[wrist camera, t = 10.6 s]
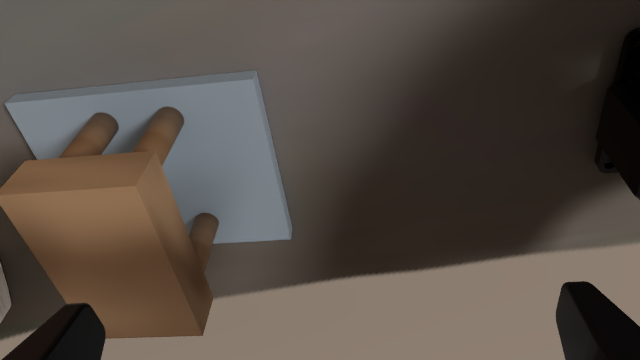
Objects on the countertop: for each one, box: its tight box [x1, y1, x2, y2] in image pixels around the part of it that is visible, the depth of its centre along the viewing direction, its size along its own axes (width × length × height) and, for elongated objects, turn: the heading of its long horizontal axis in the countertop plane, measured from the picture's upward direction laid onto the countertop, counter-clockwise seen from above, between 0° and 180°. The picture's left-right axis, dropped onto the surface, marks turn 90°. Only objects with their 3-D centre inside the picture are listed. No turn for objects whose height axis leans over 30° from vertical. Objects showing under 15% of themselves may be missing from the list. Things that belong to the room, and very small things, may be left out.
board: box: [4, 70, 292, 244], centre depth 24 cm, size 11×9×1 cm
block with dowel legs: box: [0, 106, 219, 338], centre depth 21 cm, size 8×5×6 cm, turn 7°
